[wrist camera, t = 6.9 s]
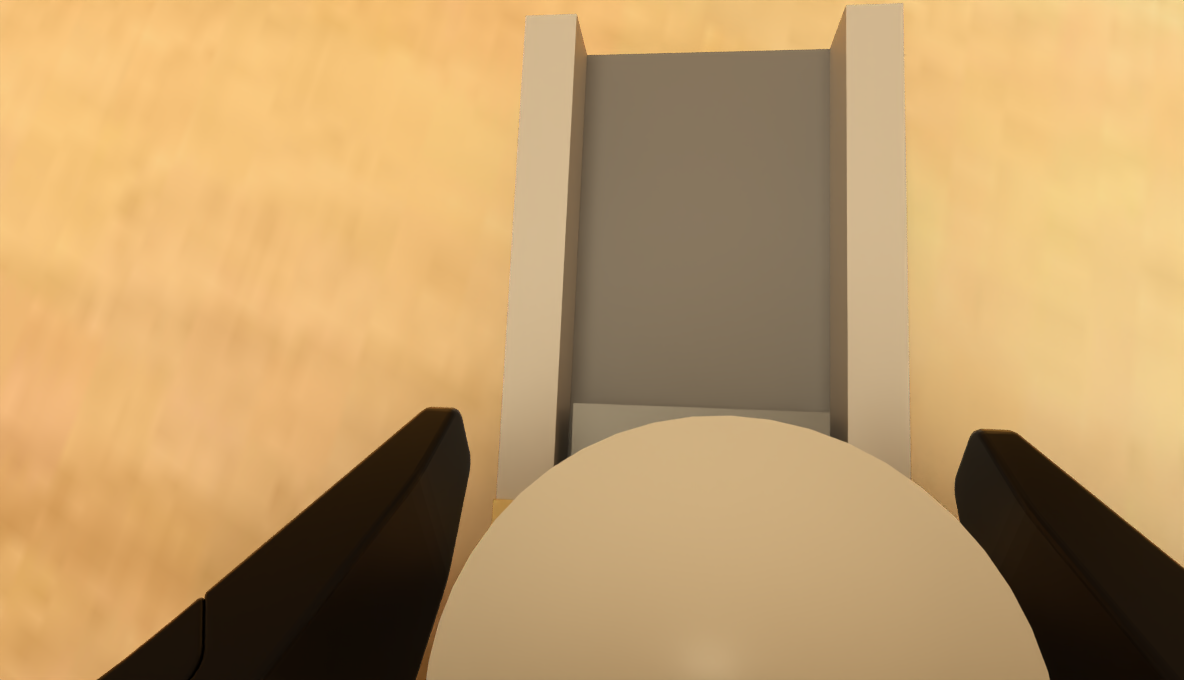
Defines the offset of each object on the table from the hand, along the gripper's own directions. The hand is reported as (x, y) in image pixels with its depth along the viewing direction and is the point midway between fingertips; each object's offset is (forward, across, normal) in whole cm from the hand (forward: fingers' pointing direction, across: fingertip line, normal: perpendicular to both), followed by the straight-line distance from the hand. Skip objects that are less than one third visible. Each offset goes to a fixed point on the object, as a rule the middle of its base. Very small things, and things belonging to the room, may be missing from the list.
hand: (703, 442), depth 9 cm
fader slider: (+3, 0, +5) cm, 5 cm away
